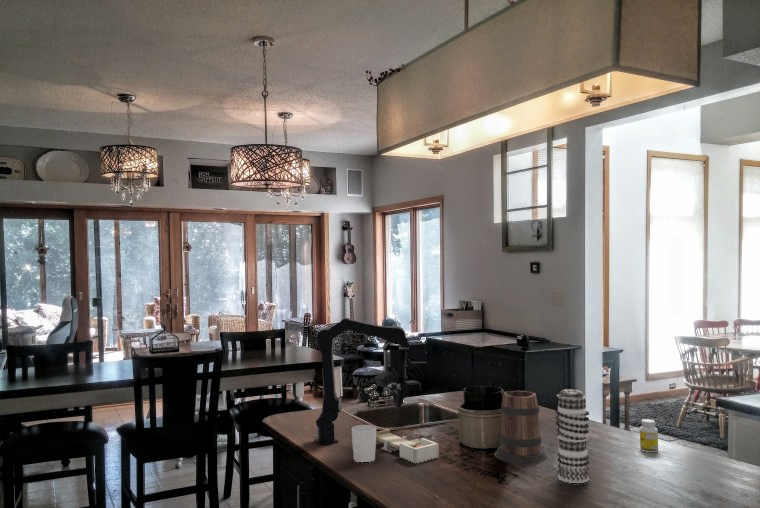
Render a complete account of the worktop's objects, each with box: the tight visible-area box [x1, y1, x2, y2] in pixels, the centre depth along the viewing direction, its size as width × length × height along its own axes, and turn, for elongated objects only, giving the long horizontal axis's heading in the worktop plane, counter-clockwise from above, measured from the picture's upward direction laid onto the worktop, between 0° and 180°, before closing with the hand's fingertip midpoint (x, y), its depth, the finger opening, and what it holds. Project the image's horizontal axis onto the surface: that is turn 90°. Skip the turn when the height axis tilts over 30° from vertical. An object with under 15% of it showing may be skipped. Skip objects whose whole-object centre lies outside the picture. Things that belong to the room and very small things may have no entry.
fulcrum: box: [380, 435, 408, 453], centre depth 198 cm, size 5×9×3 cm, turn 125°
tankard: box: [493, 390, 549, 465], centre depth 192 cm, size 24×17×20 cm
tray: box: [399, 438, 440, 465], centre depth 188 cm, size 8×10×4 cm
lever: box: [376, 428, 436, 449], centre depth 201 cm, size 16×15×2 cm
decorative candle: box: [554, 388, 590, 484], centre depth 168 cm, size 9×9×25 cm
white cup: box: [351, 424, 377, 464], centre depth 187 cm, size 8×8×10 cm
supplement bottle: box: [639, 418, 659, 453], centre depth 192 cm, size 5×5×10 cm
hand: (398, 407), depth 205 cm, fingers closed
